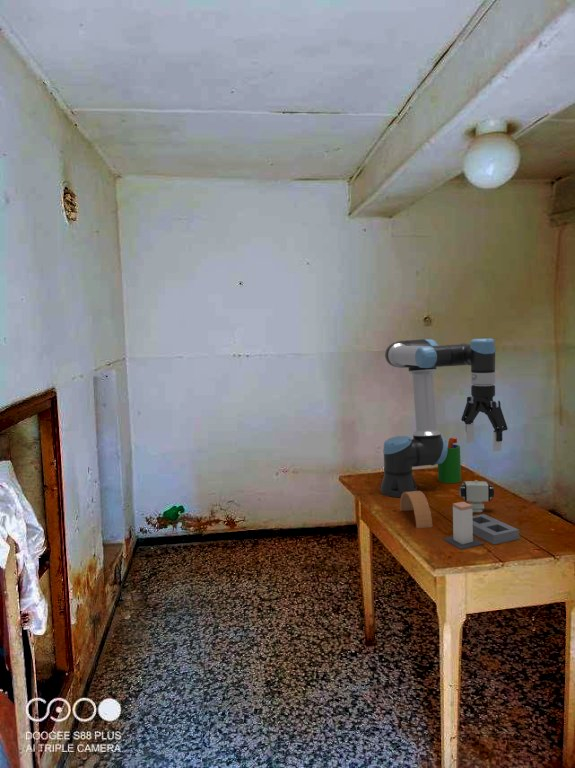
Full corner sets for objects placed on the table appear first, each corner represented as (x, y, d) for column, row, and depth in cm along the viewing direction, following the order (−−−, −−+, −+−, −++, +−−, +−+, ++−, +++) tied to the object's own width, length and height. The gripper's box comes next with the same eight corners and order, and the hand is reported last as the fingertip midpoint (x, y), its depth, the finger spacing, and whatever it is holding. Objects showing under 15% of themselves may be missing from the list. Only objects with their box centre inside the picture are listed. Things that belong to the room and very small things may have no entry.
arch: (414, 509, 195) (413, 484, 194) (432, 528, 175) (432, 501, 174) (399, 510, 195) (399, 485, 194) (416, 530, 175) (415, 502, 174)
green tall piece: (448, 476, 235) (447, 434, 233) (465, 479, 228) (464, 436, 226) (435, 481, 229) (434, 437, 227) (452, 484, 222) (452, 440, 220)
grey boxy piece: (460, 528, 174) (460, 518, 173) (484, 523, 177) (483, 513, 177) (494, 546, 159) (493, 535, 158) (518, 540, 162) (518, 529, 162)
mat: (442, 540, 165) (442, 538, 165) (465, 535, 168) (465, 533, 168) (460, 551, 156) (460, 548, 156) (484, 545, 159) (484, 543, 159)
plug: (453, 539, 163) (452, 503, 162) (464, 537, 165) (463, 501, 164) (462, 544, 159) (461, 507, 158) (472, 541, 161) (472, 505, 160)
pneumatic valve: (494, 514, 186) (494, 482, 184) (461, 513, 188) (460, 481, 187) (491, 508, 191) (491, 477, 190) (459, 508, 193) (458, 477, 192)
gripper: (450, 382, 180) (451, 440, 183) (500, 389, 157) (500, 455, 159) (468, 380, 182) (468, 437, 185) (519, 387, 159) (519, 453, 161)
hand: (483, 446), depth 172 cm, fingers open, 13 cm apart
